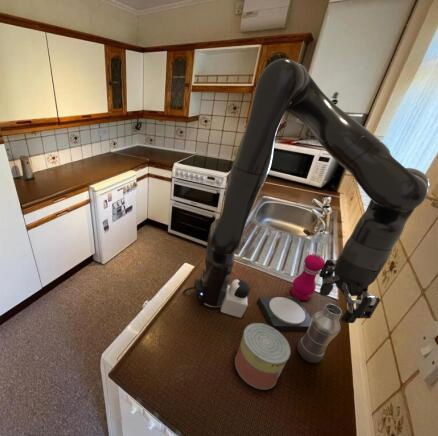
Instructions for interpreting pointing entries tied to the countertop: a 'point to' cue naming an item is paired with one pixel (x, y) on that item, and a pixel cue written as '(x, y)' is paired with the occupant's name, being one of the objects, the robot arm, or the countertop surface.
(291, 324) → the scale
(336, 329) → the plastic bottle
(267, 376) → the canned food
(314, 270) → the pepper mill
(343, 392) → the countertop surface
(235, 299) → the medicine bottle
